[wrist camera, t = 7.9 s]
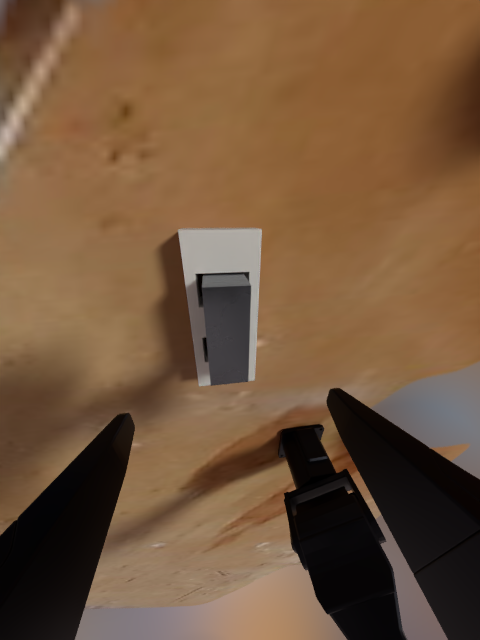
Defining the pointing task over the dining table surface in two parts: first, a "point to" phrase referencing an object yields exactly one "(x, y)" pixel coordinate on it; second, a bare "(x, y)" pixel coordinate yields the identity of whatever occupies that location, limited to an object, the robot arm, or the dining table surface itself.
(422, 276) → the dining table surface
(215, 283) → the dark grey blocky piece
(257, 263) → the rail
